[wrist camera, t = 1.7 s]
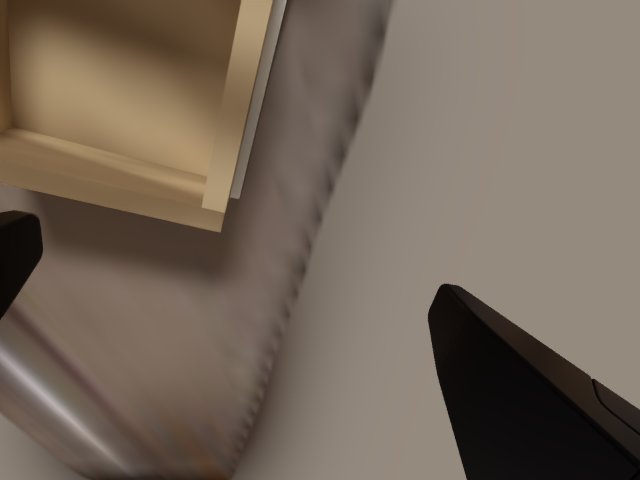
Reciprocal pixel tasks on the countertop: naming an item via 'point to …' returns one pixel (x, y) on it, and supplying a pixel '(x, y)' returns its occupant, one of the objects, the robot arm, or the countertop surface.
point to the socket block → (129, 101)
